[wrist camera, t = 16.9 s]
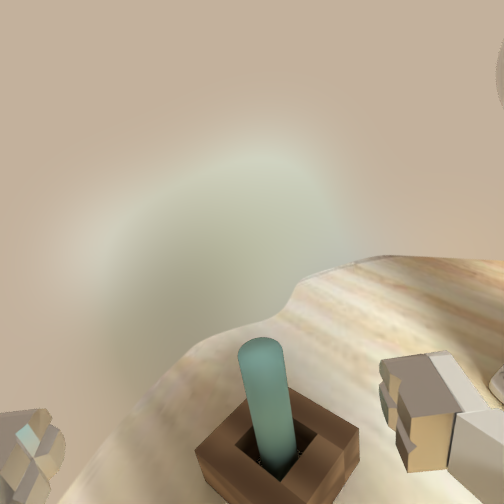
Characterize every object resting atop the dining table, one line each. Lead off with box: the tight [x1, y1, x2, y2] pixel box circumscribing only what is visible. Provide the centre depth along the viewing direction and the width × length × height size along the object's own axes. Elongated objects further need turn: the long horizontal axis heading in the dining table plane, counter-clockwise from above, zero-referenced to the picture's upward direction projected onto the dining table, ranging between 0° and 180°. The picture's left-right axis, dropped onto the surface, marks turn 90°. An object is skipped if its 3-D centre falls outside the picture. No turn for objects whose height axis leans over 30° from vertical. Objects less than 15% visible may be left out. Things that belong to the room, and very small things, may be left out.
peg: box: [238, 337, 298, 482], centre depth 33 cm, size 4×4×16 cm
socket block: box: [195, 387, 360, 504], centre depth 36 cm, size 11×11×5 cm
